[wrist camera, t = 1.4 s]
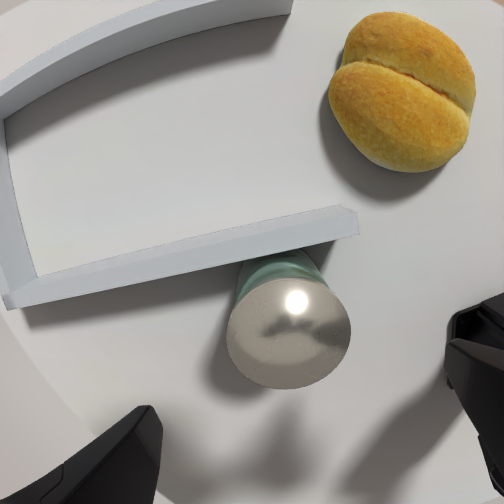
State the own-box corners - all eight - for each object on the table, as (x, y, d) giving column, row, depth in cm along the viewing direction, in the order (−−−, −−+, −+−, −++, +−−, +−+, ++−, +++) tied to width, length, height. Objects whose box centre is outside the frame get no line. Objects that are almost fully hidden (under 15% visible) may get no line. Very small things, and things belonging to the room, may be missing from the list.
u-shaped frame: (342, 223, 17) (360, 234, 14) (32, 293, 18) (7, 310, 15) (285, 0, 14) (290, -27, 11) (-7, 112, 15) (-36, 109, 12)
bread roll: (308, 137, 16) (323, 127, 12) (355, 7, 14) (376, -26, 10) (435, 198, 16) (474, 206, 13) (469, 73, 14) (507, 59, 10)
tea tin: (326, 312, 18) (355, 374, 12) (246, 329, 18) (243, 398, 12) (312, 233, 17) (342, 267, 11) (226, 252, 17) (211, 296, 11)
